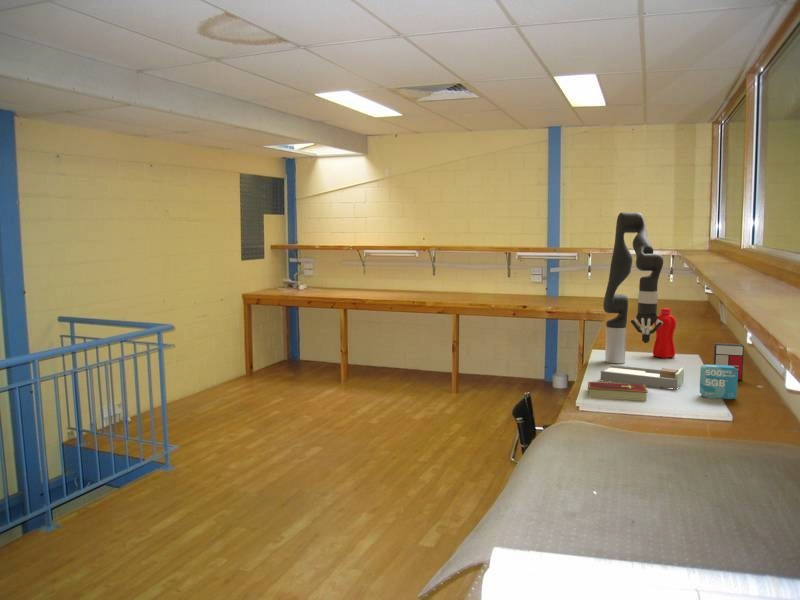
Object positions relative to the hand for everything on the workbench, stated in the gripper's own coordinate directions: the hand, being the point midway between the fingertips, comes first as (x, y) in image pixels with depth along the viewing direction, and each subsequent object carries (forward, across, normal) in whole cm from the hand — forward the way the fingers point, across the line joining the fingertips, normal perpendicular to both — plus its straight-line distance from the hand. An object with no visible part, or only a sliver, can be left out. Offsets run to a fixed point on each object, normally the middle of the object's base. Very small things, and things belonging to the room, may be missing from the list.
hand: (645, 342), depth 261 cm
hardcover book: (+17, +4, +31) cm, 36 cm away
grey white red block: (+17, -29, -25) cm, 42 cm away
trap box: (+16, +1, 0) cm, 17 cm away
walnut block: (+13, -10, +1) cm, 17 cm away
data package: (+16, -29, +13) cm, 36 cm away
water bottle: (+18, +4, -65) cm, 67 cm away
